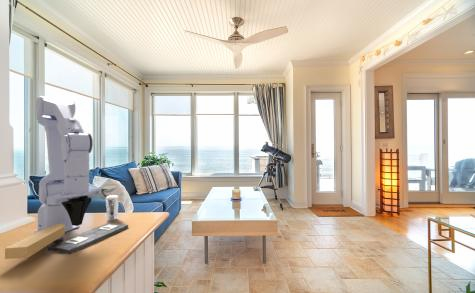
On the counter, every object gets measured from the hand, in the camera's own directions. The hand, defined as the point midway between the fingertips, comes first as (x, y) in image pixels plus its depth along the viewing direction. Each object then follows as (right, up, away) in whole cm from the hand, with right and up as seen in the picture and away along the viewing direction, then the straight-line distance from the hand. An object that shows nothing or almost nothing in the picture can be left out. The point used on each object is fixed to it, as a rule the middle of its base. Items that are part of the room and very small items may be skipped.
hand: (76, 224), depth 65 cm
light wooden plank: (-6, -3, -5) cm, 8 cm away
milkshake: (-2, -6, +22) cm, 23 cm away
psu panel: (+1, -5, +5) cm, 7 cm away
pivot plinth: (-7, -5, +2) cm, 9 cm away
